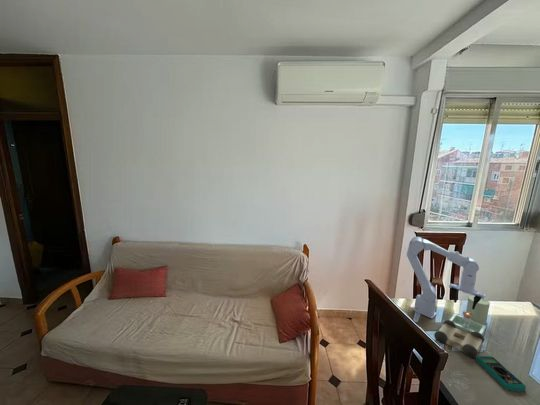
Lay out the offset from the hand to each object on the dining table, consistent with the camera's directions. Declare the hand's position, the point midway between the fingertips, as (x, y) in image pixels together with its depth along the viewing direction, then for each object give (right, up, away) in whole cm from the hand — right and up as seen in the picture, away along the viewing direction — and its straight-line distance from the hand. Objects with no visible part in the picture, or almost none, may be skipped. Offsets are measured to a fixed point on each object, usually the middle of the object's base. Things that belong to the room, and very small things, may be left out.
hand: (464, 305), depth 127 cm
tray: (-2, -11, -4) cm, 12 cm away
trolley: (-13, -12, -13) cm, 22 cm away
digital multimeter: (-11, -16, -30) cm, 36 cm away
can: (+11, -10, +5) cm, 16 cm away
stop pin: (-3, -11, -4) cm, 12 cm away
